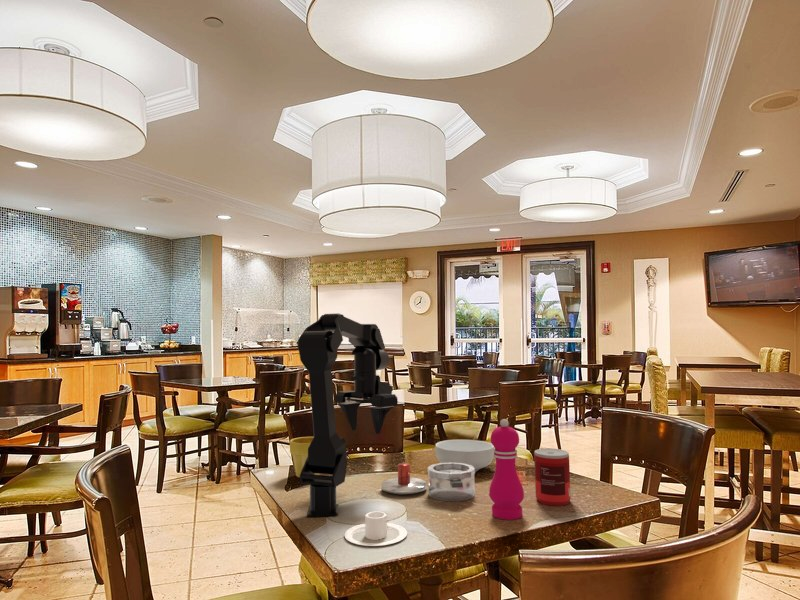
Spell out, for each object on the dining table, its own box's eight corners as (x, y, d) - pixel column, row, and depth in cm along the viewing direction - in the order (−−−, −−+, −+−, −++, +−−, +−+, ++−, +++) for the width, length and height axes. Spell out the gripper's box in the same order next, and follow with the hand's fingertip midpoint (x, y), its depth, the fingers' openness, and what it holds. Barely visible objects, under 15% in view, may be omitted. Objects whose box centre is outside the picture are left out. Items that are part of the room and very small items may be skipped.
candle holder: (339, 530, 106) (338, 508, 106) (396, 523, 109) (396, 501, 110) (352, 553, 94) (351, 528, 95) (415, 544, 98) (415, 520, 98)
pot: (482, 503, 120) (481, 475, 120) (433, 505, 119) (433, 477, 119) (467, 484, 136) (466, 459, 136) (424, 485, 135) (424, 461, 135)
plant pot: (331, 470, 152) (331, 436, 153) (322, 480, 142) (322, 443, 142) (296, 470, 153) (295, 436, 154) (284, 480, 143) (284, 443, 143)
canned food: (555, 494, 126) (554, 447, 127) (578, 503, 119) (576, 453, 120) (528, 498, 124) (527, 450, 124) (550, 508, 116) (548, 457, 117)
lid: (429, 496, 126) (429, 469, 127) (382, 498, 125) (382, 471, 126) (423, 483, 138) (423, 458, 138) (380, 485, 137) (380, 460, 137)
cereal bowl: (484, 480, 140) (484, 452, 140) (426, 474, 147) (426, 448, 147) (501, 465, 155) (501, 440, 155) (448, 460, 162) (447, 437, 163)
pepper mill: (499, 522, 108) (496, 422, 109) (484, 511, 115) (481, 417, 116) (531, 518, 110) (527, 420, 111) (514, 507, 117) (511, 415, 118)
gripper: (412, 371, 139) (412, 432, 138) (364, 369, 152) (364, 424, 151) (381, 373, 131) (381, 437, 130) (333, 371, 144) (333, 429, 143)
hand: (365, 432), depth 138 cm, fingers open, 9 cm apart
